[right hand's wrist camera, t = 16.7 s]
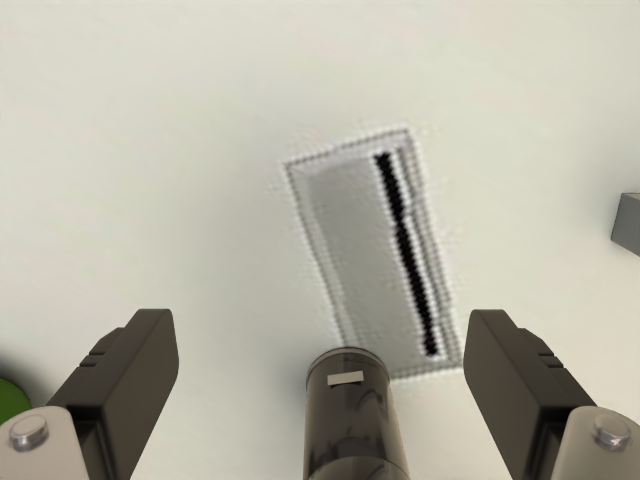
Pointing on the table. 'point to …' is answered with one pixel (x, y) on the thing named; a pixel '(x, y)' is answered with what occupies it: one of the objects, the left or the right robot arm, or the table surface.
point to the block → (628, 223)
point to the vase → (11, 401)
